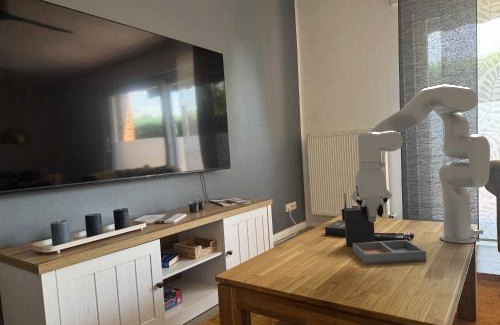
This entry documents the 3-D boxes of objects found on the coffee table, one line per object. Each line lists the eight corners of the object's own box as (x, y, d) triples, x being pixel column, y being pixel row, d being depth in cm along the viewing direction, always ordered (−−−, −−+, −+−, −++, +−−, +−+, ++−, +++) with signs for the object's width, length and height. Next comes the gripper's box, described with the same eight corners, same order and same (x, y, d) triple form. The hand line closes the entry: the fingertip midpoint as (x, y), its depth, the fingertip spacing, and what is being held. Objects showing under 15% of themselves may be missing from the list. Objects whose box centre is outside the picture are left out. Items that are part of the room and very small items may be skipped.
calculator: (372, 243, 139) (371, 207, 138) (375, 246, 134) (373, 209, 134) (345, 244, 140) (343, 208, 139) (347, 247, 136) (345, 210, 135)
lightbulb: (381, 221, 123) (379, 191, 123) (381, 224, 118) (380, 193, 117) (363, 220, 125) (362, 191, 125) (363, 224, 120) (362, 194, 119)
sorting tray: (407, 248, 129) (406, 239, 129) (426, 261, 115) (426, 251, 115) (352, 252, 129) (352, 243, 129) (365, 264, 115) (365, 254, 115)
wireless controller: (351, 238, 149) (349, 200, 148) (322, 234, 157) (320, 198, 156) (365, 228, 165) (364, 193, 164) (338, 225, 173) (337, 192, 172)
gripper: (389, 164, 124) (391, 213, 125) (343, 167, 124) (345, 215, 125) (398, 165, 117) (400, 217, 118) (349, 168, 117) (351, 220, 118)
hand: (372, 216), depth 121 cm, fingers closed on lightbulb, 5 cm apart
